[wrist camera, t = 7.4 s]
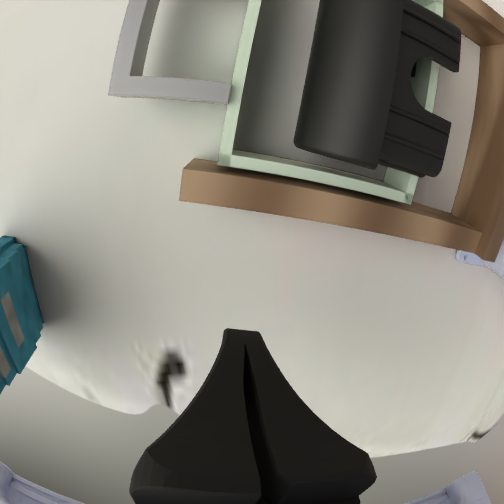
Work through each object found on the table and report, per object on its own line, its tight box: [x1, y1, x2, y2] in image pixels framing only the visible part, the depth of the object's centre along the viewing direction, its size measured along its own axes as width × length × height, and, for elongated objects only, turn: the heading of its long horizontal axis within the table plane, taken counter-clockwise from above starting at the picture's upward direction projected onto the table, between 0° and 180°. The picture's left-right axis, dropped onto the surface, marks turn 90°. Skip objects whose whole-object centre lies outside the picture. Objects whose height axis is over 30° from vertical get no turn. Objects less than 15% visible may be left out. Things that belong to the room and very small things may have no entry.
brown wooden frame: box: [179, 0, 504, 263], centre depth 13 cm, size 21×18×5 cm
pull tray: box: [108, 0, 443, 205], centre depth 13 cm, size 17×14×4 cm
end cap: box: [294, 0, 461, 177], centre depth 13 cm, size 10×7×7 cm
